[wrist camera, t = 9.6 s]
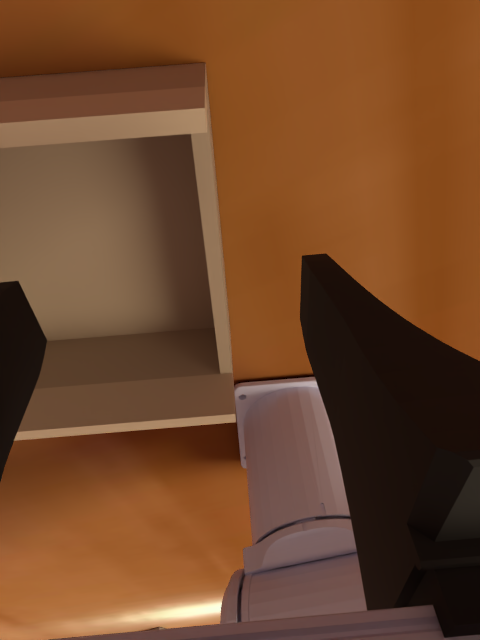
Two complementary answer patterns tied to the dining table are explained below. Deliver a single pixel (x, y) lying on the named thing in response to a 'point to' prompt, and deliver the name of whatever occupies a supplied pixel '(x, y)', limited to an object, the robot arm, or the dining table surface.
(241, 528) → the dining table surface
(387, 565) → the robot arm
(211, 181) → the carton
